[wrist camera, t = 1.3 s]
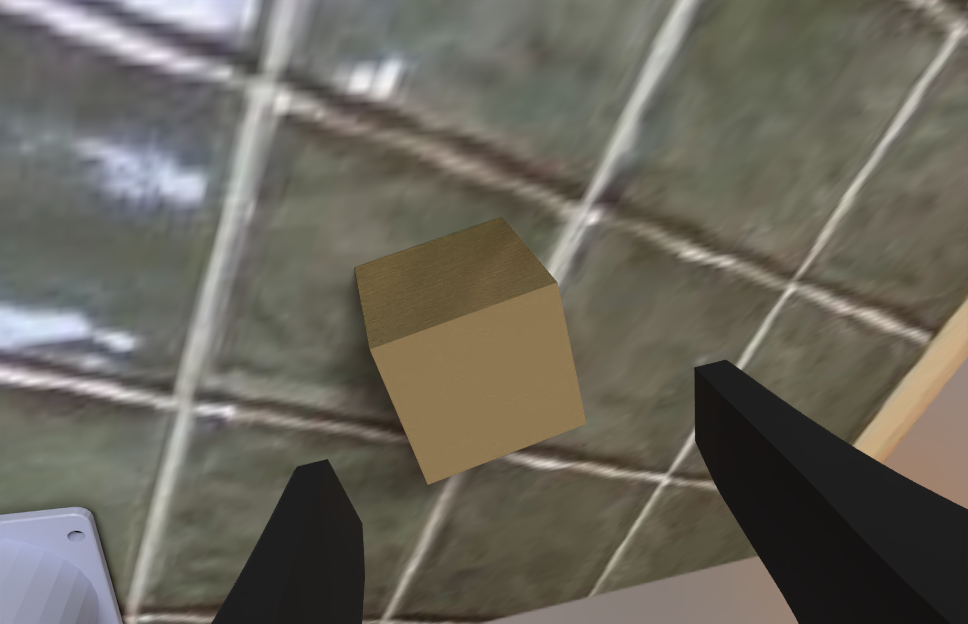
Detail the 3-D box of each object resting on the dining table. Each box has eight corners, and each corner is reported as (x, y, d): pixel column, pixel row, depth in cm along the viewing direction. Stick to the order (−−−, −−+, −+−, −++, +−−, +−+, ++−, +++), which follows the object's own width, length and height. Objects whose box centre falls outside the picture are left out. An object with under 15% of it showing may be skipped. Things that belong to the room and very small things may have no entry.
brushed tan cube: (531, 339, 22) (586, 423, 18) (403, 386, 22) (428, 485, 17) (501, 217, 20) (557, 282, 15) (354, 267, 19) (369, 349, 15)
